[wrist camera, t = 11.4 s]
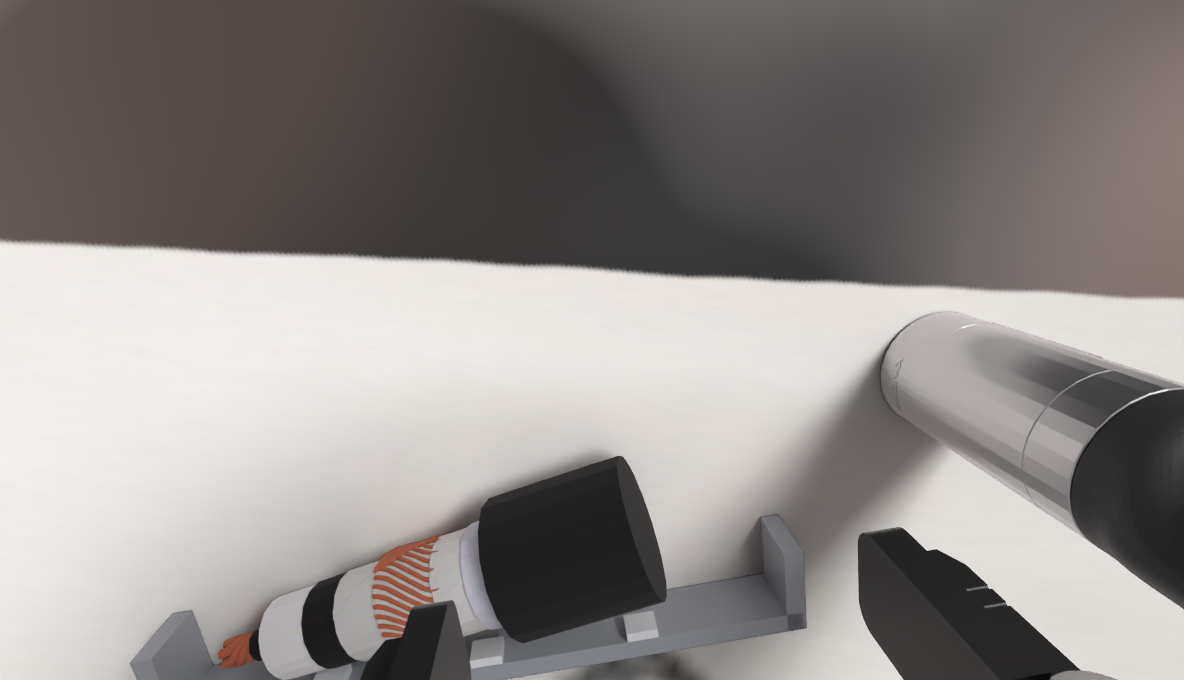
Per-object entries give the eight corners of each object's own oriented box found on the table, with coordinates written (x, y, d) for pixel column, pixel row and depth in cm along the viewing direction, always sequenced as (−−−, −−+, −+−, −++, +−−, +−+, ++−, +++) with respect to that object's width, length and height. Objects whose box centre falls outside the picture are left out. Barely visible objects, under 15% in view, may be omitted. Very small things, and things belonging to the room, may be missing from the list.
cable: (264, 572, 51) (160, 607, 41) (628, 452, 47) (607, 459, 37) (288, 693, 49) (184, 760, 39) (670, 580, 45) (660, 623, 35)
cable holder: (778, 514, 48) (803, 551, 43) (782, 585, 50) (806, 628, 45) (172, 613, 47) (129, 662, 42) (200, 682, 48) (162, 738, 44)
